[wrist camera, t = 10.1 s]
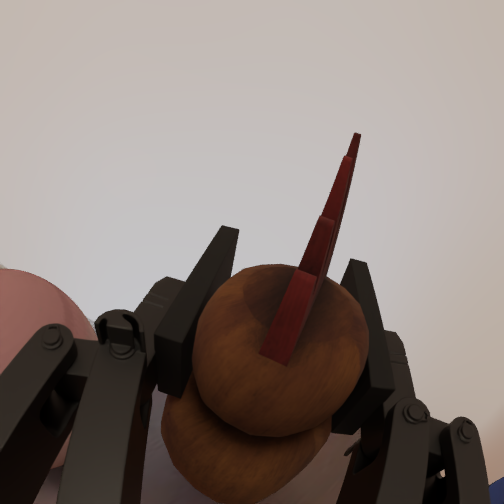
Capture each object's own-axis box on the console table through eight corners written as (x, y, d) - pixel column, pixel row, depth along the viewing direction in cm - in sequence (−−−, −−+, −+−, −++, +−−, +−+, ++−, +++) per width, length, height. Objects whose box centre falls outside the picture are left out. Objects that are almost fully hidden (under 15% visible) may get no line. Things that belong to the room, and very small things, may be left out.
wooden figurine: (241, 392, 16) (318, 118, 9) (313, 453, 13) (488, 189, 6) (146, 450, 12) (110, 99, 4) (223, 532, 9) (514, 263, 1)
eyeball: (-35, 399, 15) (-107, 280, 8) (60, 335, 27) (32, 211, 20) (45, 522, 10) (-77, 457, 3) (155, 424, 22) (143, 302, 15)
